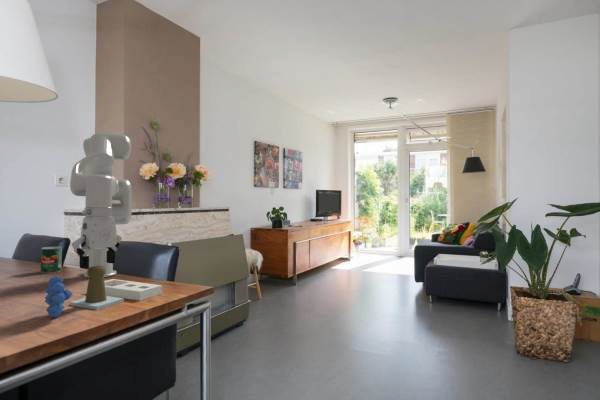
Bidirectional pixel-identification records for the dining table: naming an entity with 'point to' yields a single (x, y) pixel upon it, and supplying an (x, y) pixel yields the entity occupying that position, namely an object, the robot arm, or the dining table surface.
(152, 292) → the white board with cutout
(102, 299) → the olive rounded piece
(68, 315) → the dining table surface
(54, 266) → the canned tomato
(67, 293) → the grapes
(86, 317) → the dining table surface
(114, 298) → the rubber mat
